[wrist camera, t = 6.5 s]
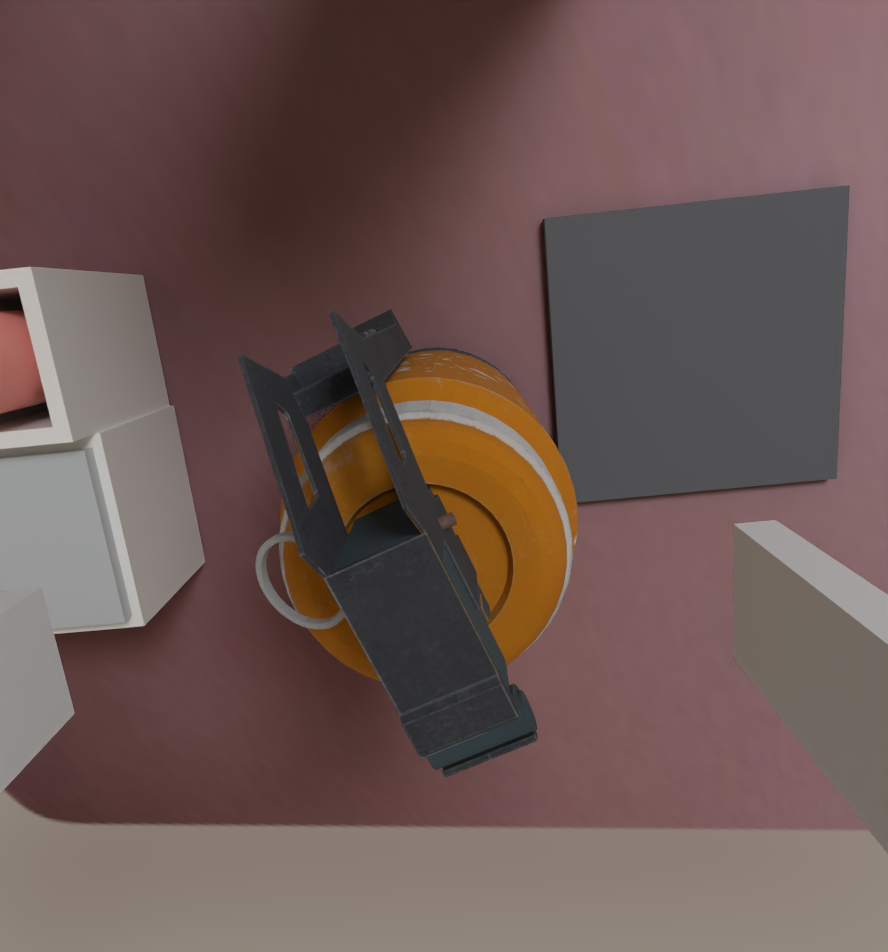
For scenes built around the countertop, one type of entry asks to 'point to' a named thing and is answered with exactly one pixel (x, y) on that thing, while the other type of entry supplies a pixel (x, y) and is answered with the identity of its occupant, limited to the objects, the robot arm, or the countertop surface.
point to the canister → (418, 529)
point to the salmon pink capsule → (17, 364)
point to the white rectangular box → (94, 457)
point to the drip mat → (698, 343)
